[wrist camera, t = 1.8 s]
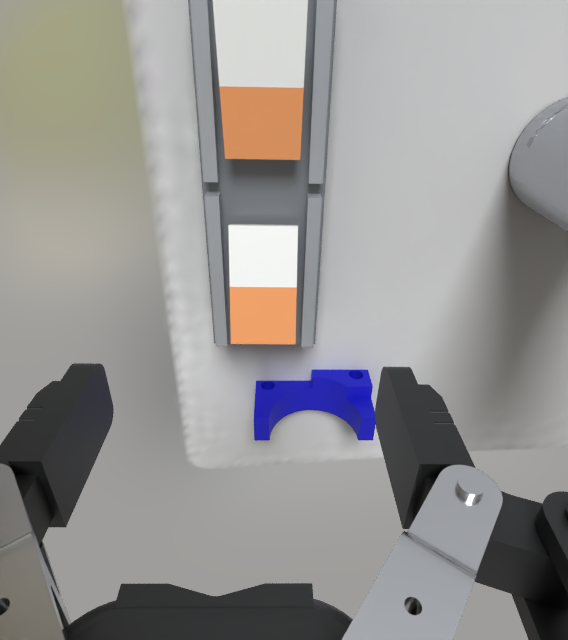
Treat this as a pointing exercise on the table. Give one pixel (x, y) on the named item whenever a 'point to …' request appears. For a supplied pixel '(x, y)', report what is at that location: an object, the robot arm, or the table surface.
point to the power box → (265, 169)
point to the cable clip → (317, 400)
